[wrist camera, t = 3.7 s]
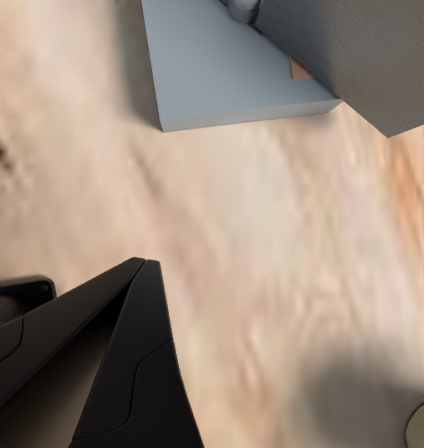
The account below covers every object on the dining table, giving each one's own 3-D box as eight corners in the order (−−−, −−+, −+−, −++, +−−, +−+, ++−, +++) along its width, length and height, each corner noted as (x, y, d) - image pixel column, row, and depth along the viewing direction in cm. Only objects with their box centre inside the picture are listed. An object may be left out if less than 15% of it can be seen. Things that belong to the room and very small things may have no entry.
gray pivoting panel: (214, 7, 16) (235, -153, 9) (239, -27, 16) (280, -213, 9) (380, 147, 17) (512, 101, 10) (403, 114, 17) (550, 47, 10)
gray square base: (163, 132, 19) (159, 118, 16) (135, -48, 18) (126, -93, 16) (327, 112, 20) (349, 97, 17) (306, -59, 19) (325, -103, 17)
